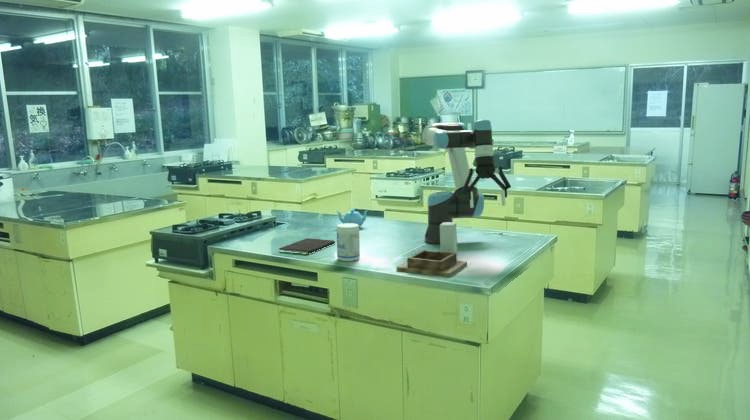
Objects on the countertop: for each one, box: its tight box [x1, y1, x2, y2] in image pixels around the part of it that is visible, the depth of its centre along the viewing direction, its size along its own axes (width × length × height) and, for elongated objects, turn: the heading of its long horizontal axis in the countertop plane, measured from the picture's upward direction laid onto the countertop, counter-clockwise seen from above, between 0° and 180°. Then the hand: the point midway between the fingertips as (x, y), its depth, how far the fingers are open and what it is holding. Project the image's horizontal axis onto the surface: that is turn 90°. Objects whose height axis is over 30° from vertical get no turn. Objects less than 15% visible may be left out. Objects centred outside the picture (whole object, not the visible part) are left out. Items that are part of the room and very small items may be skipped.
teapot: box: [335, 207, 369, 228], centre depth 296 cm, size 13×13×10 cm
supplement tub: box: [336, 223, 361, 262], centre depth 228 cm, size 10×10×15 cm
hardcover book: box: [278, 237, 336, 254], centre depth 252 cm, size 16×23×2 cm
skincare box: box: [439, 221, 458, 258], centre depth 225 cm, size 8×6×15 cm
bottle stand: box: [396, 249, 468, 278], centre depth 211 cm, size 22×18×5 cm
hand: (487, 206), depth 228 cm, fingers open, 13 cm apart
